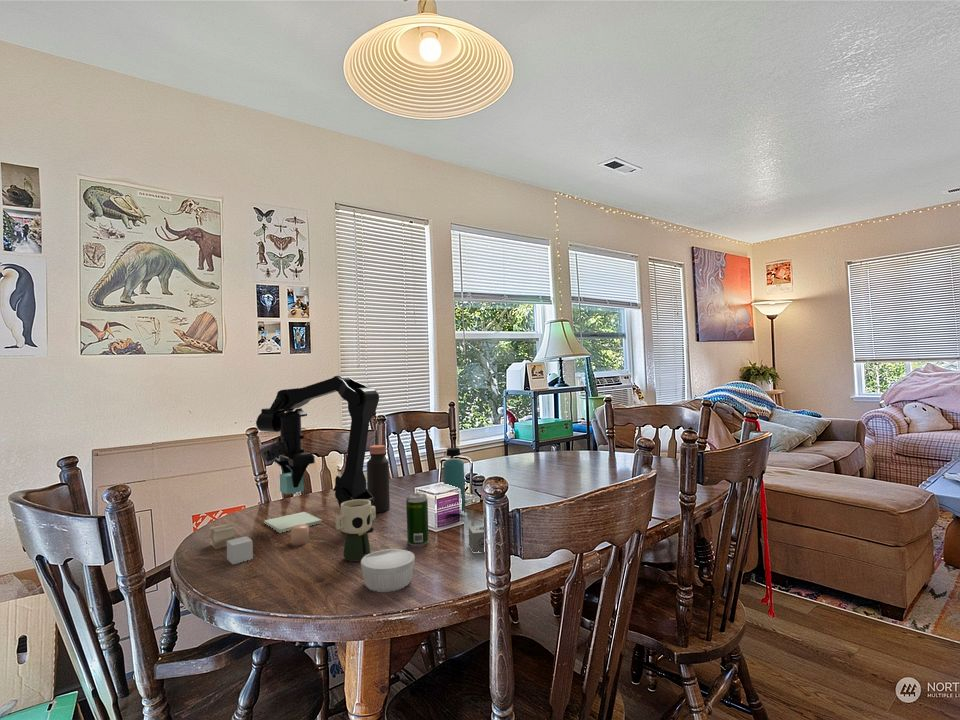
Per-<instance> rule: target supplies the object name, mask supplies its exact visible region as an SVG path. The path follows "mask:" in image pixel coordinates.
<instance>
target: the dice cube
mask: <svg viewBox="0 0 960 720" xmlns="http://www.w3.org/2000/svg"><path fill="white" fill-rule="evenodd" d="M484 525H485V524H484ZM484 525H475V526H473V525H472V526H468V547H469V546H470V548H471V549H472V551H473V552H478V551H479V552H483V553H482V554H485V553H484ZM470 548H469V549H470ZM471 549H470V550H471ZM472 551H471V552H472Z"/></svg>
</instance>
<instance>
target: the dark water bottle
mask: <svg viewBox="0 0 960 720" xmlns="http://www.w3.org/2000/svg"><path fill="white" fill-rule="evenodd" d="M385 455H386V445H385V444H373V445H370V446H369V456H370V458H369V459H368V461H367V462H366V488H367V490H368V491H369V492H370V493H371V494H372V496H373V497H374V502H373V505H371V506H375V508H376V513H383V512H386V511H388V510H390V508H391V507H390V505H391V502H390V501H391V500H390V467H389V466H390V465H389V463H390V462H389V460H388V459H387V458H386V457H385Z"/></svg>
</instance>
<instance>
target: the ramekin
mask: <svg viewBox="0 0 960 720" xmlns="http://www.w3.org/2000/svg"><path fill="white" fill-rule="evenodd" d="M415 562H416V556H415V554H414V553H413V552H412V551H410V550H409V551H408V550H406V549H397V548H396V549H395V548H391V549H381V550H377V551H373V552H370V554H368V555H366V554H365V555H364V556H363V558H362V560H360V568H361V569H362V576H363V582H364V585H365V587H366V588H367V589H369V590H370V591H372V590H373V591H372V592H375V591H377V592H378V593H392V592H391V591H393V592H396V591H395V590H397V591H400V590H402V589H404V588H406V587H407V586H409V584H410V583H411V582H412V580H413V574H414V564H415ZM405 586H406V587H405ZM401 588H402V589H401ZM399 589H400V590H399ZM377 592H376V593H377Z"/></svg>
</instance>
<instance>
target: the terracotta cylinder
mask: <svg viewBox="0 0 960 720" xmlns="http://www.w3.org/2000/svg"><path fill="white" fill-rule="evenodd" d="M309 527H310V526H308V525H306V524H300V525H295V526H292V527H291V531H290V544H291V546H302V544H303V545H306V544H308V543H309V542H310V537H309V536H310V533H309V532H310V531H309ZM307 542H308V543H307ZM305 543H306V544H305Z"/></svg>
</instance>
